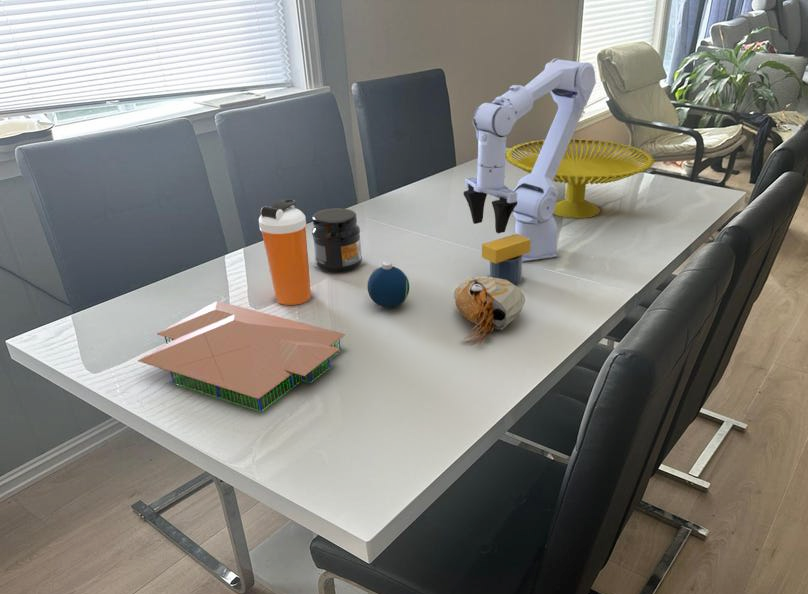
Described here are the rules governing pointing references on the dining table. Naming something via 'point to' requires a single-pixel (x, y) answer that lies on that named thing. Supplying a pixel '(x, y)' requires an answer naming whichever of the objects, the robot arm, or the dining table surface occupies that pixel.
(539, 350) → the dining table surface
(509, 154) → the cake stand
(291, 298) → the shaker bottle
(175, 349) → the house
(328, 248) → the supplement container
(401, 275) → the christmas ornament
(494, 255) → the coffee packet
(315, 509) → the dining table surface
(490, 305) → the nautilus
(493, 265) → the espresso cup
